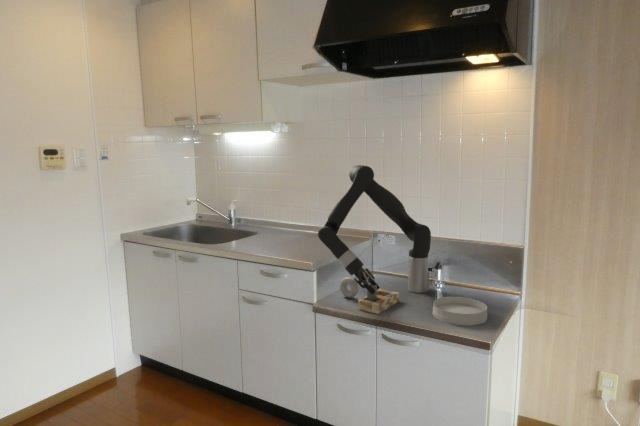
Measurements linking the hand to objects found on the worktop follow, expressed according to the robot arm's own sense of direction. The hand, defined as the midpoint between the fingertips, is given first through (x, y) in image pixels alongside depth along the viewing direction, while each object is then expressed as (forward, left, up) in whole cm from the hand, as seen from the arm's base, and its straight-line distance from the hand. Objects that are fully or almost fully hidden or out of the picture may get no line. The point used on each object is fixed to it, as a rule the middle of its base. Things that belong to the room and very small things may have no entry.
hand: (376, 291), depth 205 cm
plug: (+1, -1, -8) cm, 8 cm away
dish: (-28, +21, -8) cm, 36 cm away
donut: (+5, -18, -8) cm, 20 cm away
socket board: (-3, -3, -8) cm, 9 cm away
